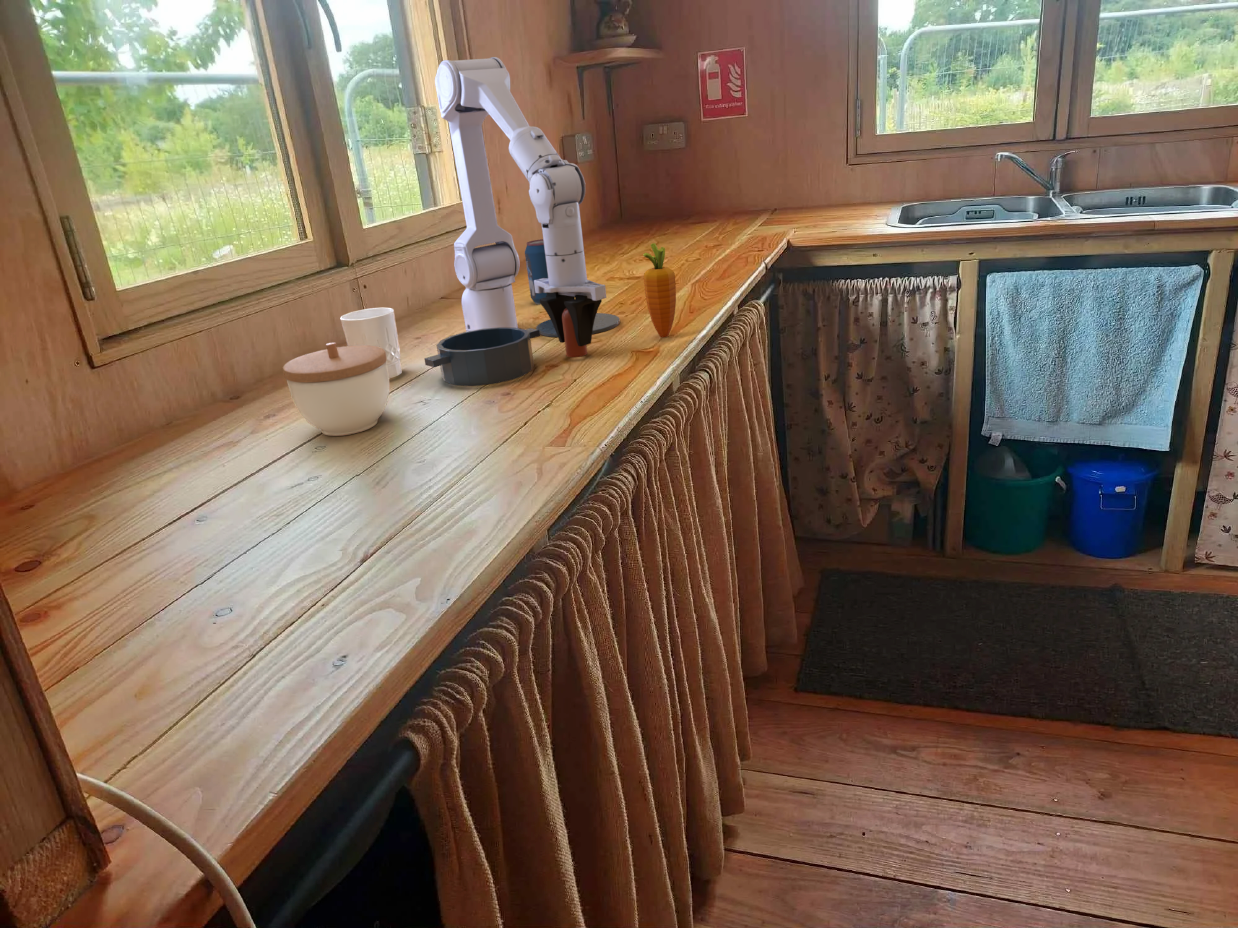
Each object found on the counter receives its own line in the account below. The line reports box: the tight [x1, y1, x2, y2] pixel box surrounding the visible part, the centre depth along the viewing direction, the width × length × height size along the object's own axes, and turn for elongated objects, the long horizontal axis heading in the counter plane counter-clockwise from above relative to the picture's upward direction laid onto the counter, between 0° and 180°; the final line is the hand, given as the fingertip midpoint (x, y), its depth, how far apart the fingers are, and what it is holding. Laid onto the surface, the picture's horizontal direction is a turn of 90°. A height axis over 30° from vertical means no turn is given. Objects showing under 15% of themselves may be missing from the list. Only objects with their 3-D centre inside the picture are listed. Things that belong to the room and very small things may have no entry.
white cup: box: [339, 307, 403, 379], centre depth 132 cm, size 8×8×10 cm
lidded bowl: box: [282, 341, 390, 437], centre depth 111 cm, size 13×13×11 cm
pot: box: [424, 327, 541, 387], centre depth 129 cm, size 13×19×6 cm
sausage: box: [562, 308, 588, 358], centre depth 132 cm, size 3×3×8 cm
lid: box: [535, 312, 621, 338], centre depth 150 cm, size 14×14×5 cm
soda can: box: [524, 238, 548, 306], centre depth 174 cm, size 7×7×12 cm
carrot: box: [642, 242, 677, 339], centre depth 136 cm, size 5×5×15 cm
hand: (575, 342), depth 133 cm, fingers open, 4 cm apart
